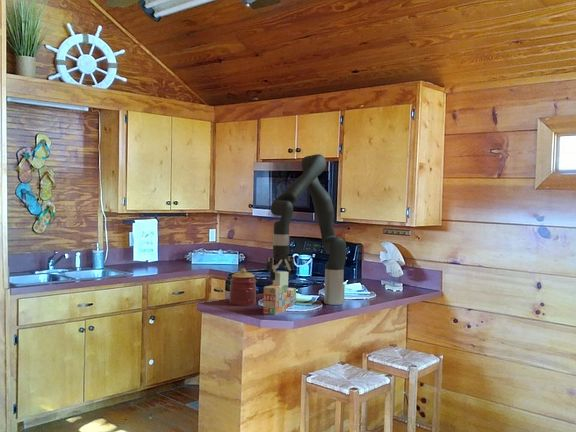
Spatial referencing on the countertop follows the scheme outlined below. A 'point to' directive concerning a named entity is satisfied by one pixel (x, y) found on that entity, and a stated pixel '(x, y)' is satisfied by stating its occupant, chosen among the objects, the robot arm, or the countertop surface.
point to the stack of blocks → (278, 299)
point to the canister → (243, 289)
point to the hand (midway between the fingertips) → (280, 279)
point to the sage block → (281, 278)
